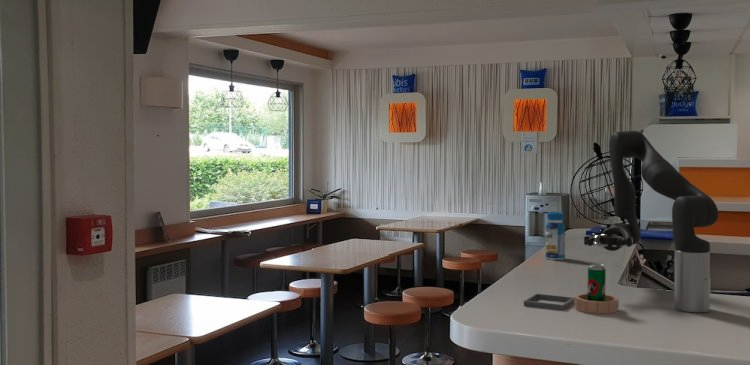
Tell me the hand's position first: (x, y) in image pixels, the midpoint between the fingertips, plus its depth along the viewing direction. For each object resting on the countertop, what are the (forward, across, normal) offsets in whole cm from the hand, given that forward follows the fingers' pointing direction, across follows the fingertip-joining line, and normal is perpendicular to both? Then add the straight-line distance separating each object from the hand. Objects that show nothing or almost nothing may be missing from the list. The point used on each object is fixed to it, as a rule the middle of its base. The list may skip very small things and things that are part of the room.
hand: (603, 243), depth 206 cm
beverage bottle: (-74, -36, +16) cm, 84 cm away
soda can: (+12, 0, +18) cm, 21 cm away
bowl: (+12, 0, +18) cm, 22 cm away
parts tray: (+12, -14, +18) cm, 26 cm away
